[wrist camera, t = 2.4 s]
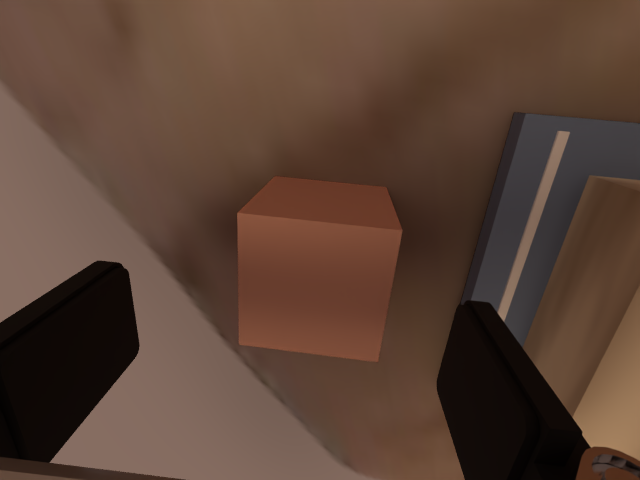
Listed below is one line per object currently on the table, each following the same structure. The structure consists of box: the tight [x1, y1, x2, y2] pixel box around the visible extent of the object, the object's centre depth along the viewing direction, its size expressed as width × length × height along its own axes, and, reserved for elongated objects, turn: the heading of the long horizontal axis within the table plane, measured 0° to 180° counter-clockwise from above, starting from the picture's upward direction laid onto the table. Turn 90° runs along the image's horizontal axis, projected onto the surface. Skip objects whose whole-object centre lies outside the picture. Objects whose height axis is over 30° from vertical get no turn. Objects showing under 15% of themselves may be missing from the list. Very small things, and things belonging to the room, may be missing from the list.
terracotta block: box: [237, 176, 403, 362], centre depth 14 cm, size 5×5×6 cm
